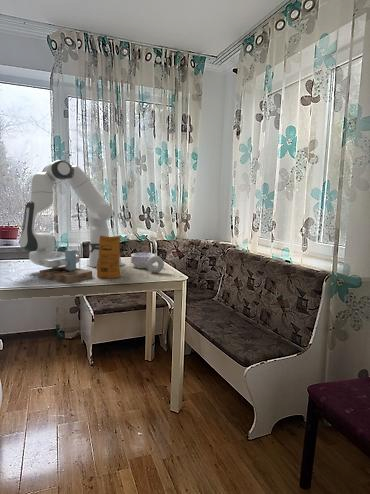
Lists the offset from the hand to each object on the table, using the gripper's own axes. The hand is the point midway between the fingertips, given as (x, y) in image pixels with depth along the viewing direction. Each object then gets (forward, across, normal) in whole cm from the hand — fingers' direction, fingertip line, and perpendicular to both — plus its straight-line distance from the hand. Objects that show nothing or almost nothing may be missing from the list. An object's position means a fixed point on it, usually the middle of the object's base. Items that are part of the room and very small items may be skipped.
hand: (72, 262), depth 172 cm
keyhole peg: (-1, 0, +8) cm, 8 cm away
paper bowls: (+10, +47, +9) cm, 49 cm away
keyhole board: (-4, 0, +8) cm, 9 cm away
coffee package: (+11, +15, +8) cm, 20 cm away
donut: (+26, +38, +8) cm, 46 cm away
